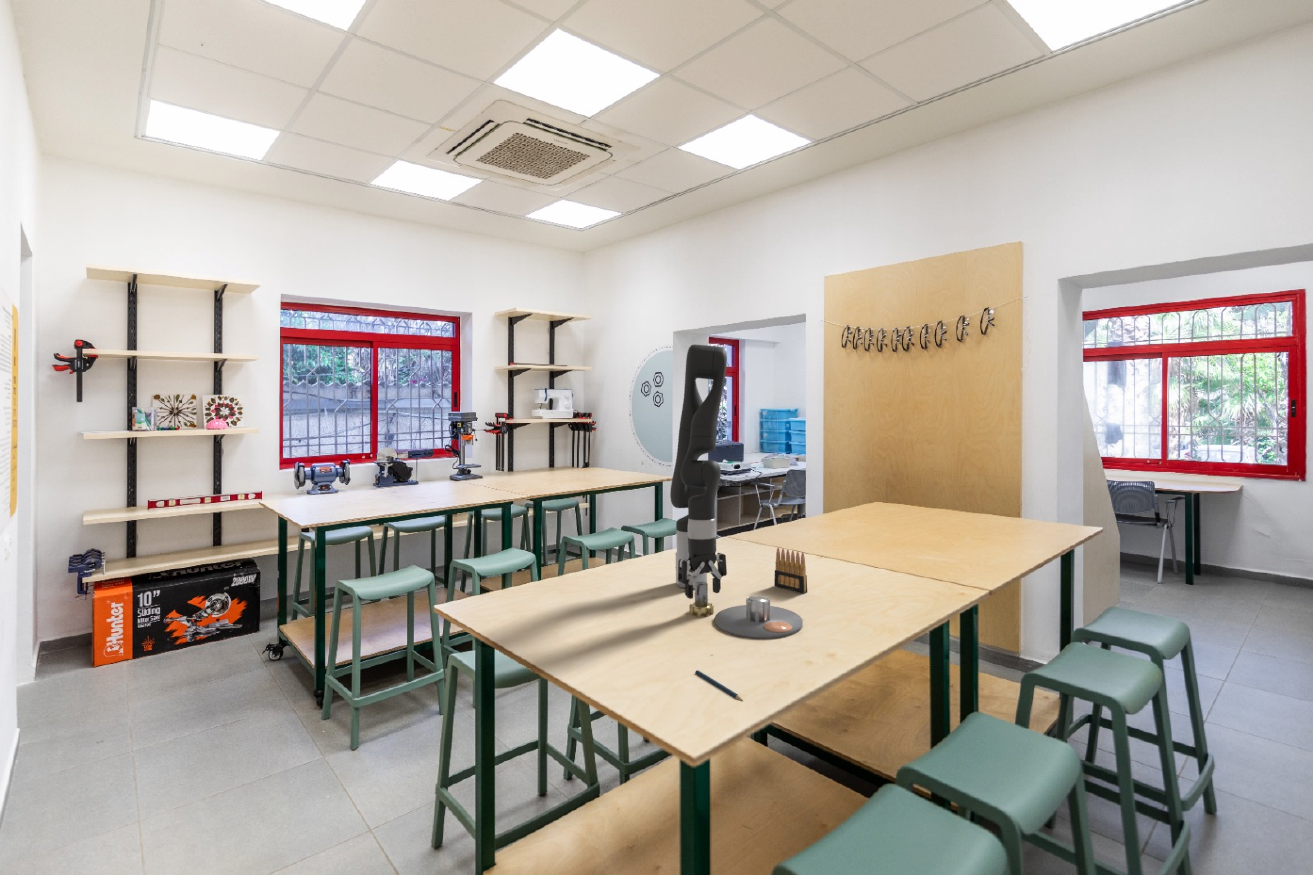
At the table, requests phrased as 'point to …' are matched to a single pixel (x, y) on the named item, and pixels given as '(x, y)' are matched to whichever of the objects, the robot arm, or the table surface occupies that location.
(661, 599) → the table surface
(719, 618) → the carrier plate
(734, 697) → the pencil
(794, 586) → the ammunition clip
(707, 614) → the planet gear
